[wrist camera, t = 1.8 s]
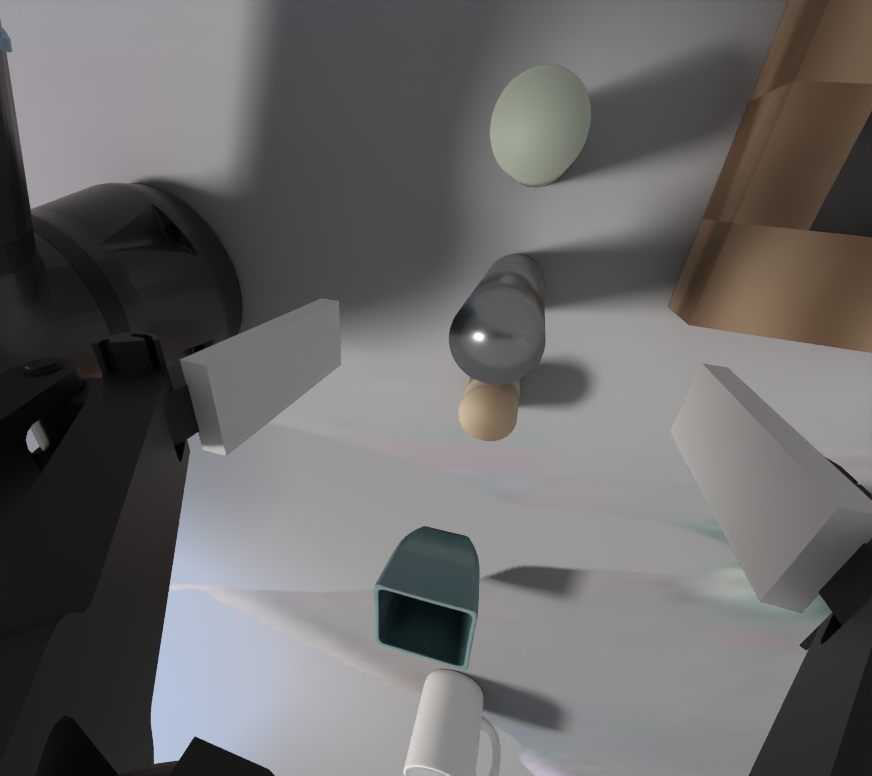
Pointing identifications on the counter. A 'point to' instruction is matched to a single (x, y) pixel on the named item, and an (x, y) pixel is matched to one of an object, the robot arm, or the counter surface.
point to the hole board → (790, 193)
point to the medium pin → (540, 124)
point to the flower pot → (429, 597)
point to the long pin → (502, 323)
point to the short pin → (489, 409)
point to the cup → (449, 728)
